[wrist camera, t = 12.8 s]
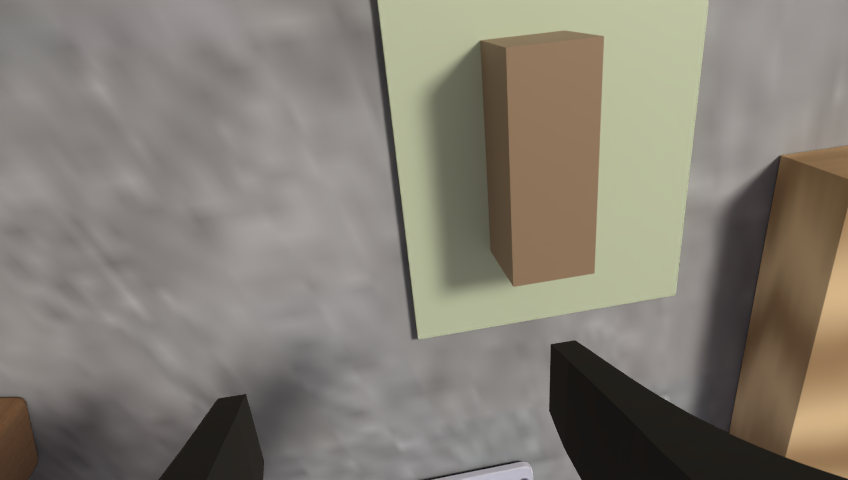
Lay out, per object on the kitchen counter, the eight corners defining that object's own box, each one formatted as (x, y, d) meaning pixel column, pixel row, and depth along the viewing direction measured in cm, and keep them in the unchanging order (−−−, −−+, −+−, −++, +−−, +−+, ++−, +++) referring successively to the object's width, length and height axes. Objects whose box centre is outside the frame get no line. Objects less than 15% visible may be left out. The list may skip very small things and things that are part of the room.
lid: (663, 284, 25) (719, 332, 22) (414, 326, 24) (430, 384, 20) (701, -100, 19) (790, -123, 15) (367, -69, 18) (377, -86, 14)
